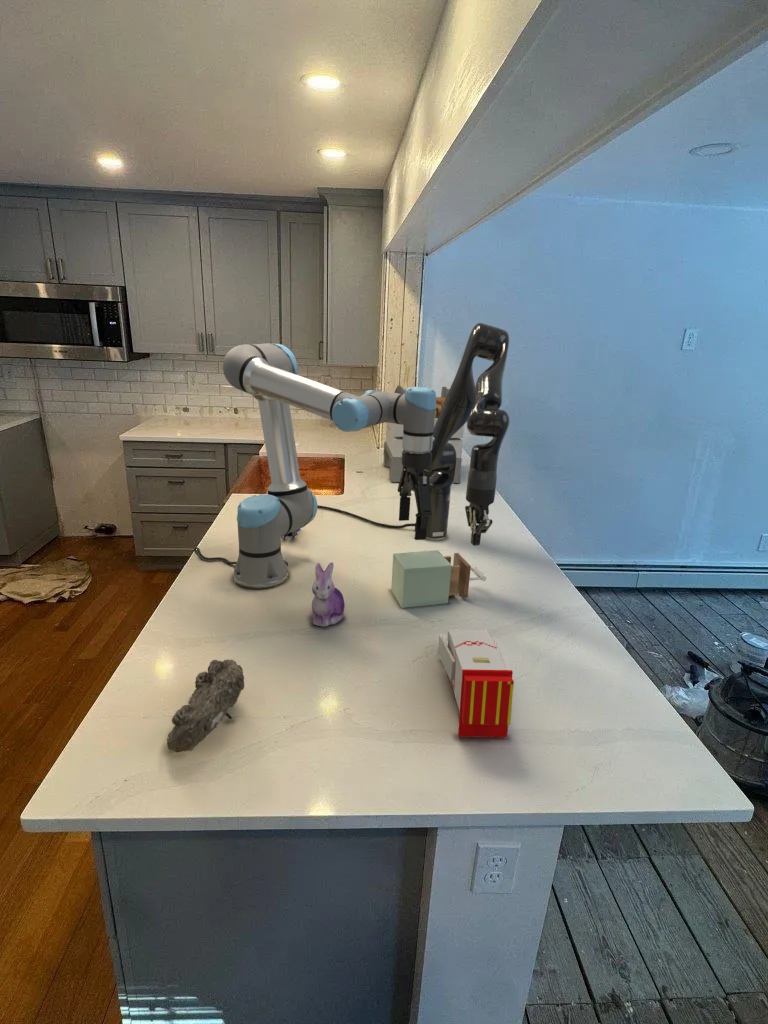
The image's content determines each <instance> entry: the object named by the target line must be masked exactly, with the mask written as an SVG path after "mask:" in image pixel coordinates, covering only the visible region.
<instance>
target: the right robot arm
mask: <svg viewBox="0 0 768 1024" xmlns="http://www.w3.org/2000/svg"><path fill="white" fill-rule="evenodd" d="M509 347H510V334H509V332H508V331H506V329H503V328H500V327H497V326H493V325H490V324H488V323H487V324H486V323H483V322H477V323H475V325H474V326H473V327H472V329H471V331H470V333H469V336H468V339H467V341H466V344H465V347H464V351H463V353H462V356H461V360H460V363H459V366H458V367H457V371H456V374H455V376H454V378H453V381H452V383H451V385H450V388H449V389H450V390H449V392H448V394H447V397H446V399H445V402H444V404H443V407H442V410H441V412H440V415H439V417H438V419H437V422H436V424H435V426H434V430H433V431H434V433H433V437H434V438H435V439H434V441H433V445H432V450H431V451H430V452H431V453H432V460H431V466H430V467H429V468H426V469H425V470H424V471H426V472H428V473H429V472H430V473H433V474H431V476H429V478H430V479H429V488H430V500H431V511H432V515H431V516H428V517H427V530H426V539H425V540H426V541H432V542H440V541H444V540H446V539H447V538H448V525H449V517H450V516H449V514H450V504H451V494H452V493H451V491H452V486H453V484H454V483H453V481H454V475H455V468H456V459H457V457H456V450H455V448H454V446H453V445H452V444H450V443H447V442H448V441H449V439H450V438H451V437H452V436H453V435H454V434H455V433H456V432H457V431H458V430H459V429H460V428H461V427H462V426H463V425H464V426H465V424H466V428H467V432H468V433H469V434H470V435H472V436H475V437H487V438H492V439H491V440H490V441H488V442H486V443H479V444H475V445H473V446H472V448H471V451H470V462H469V470H468V474H467V484H466V493H465V500H466V501H467V503H469V505H465V507H464V511H465V515H466V516H465V517H466V521H467V526H468V527H470V532H471V534H470V535H471V536H470V544H471V545H472V546H473V547H475V546H480V545H481V541H482V534H486V533H487V532H488V531H489V529H490V527H491V526H492V525H493V519H492V518H491V519H490V518H489V514H490V509H489V506H490V505H492V504H494V502H495V496H496V488H497V480H498V473H497V471H498V464H499V463H498V461H499V456H500V450H501V448H502V445H503V441H504V439H505V436H506V434H507V432H508V429H509V427H510V416H509V413H508V412H507V411H506V410H505V409H500V408H501V407H502V404H503V380H504V374H505V368H506V365H507V359H508V353H509ZM475 358H479V359H482V360H486V361H491V362H493V363H492V364H490V366H489V367H487V368H486V369H485V370H483V372H482V373H481V374H480V375H479V377H478V378H477V380H476V382H475V378H474V370H473V368H474V367H473V365H474V362H475V361H474V360H475ZM317 509H323V510H327V511H328V510H329V511H333V512H336V513H340V514H343V515H347V516H350V517H353V518H354V519H358V520H361V521H363V522H366V523H368V524H371V525H374V526H379V527H384V528H388V529H405V528H408V527H414V529H415V528H416V522H415V523H405V524H401V525H393V524H387V523H381V522H376V521H374V520H371V519H369V518H366V517H362V516H360V515H358V514H354V513H351V512H348V511H346V510H343V509H340V508H339V509H338V508H334V507H329V506H325V505H319V504H317Z"/></svg>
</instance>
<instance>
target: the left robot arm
mask: <svg viewBox="0 0 768 1024" xmlns="http://www.w3.org/2000/svg"><path fill="white" fill-rule="evenodd" d="M298 369H299V368H298V362H297V359H296V357H295V355H294V353H293V352H292V351H291V350H290V349H289V348H288V347H287V346H285V345H284V344H280V343H273V342H267V343H252V344H249V343H248V344H239V345H236V346H234V347H232V348H231V349H230V350H228V352H227V353H226V354H225V355H224V357H223V361H222V372H223V375H224V378H225V379H226V381H227V382H228V383H229V384H230V386H231V387H233V388H235V389H237V390H239V391H242V392H244V393H246V394H249V395H251V396H252V397H253V398H254V399H256V400H257V402H258V403H257V404H258V408H259V414H260V421H261V428H262V433H263V438H264V446H265V452H266V457H267V463H268V470H269V476H270V484H269V486H267V489H266V490H267V493H263V494H262V493H261V494H258V495H255V494H254V495H251V496H248V497H246V498H244V499H243V500H242V501H240V502H239V504H238V506H237V515H236V522H237V523H236V524H237V537H238V538H237V539H238V556H237V560H236V561H230V560H228V559H227V558H225V557H219V556H216V557H206V556H205V555H203V554H202V553H201V550H200V548H199V547H195V548H194V549H193V551H194V552H197V554H198V555H199V557H200V558H201V559H202V560H205V561H224V562H225V563H226V564H228V565H235V566H234V569H233V581H234V582H235V583H236V584H237V585H238V586H241V587H244V588H247V589H255V590H256V589H257V590H258V589H259V590H261V589H268V588H273V587H276V586H280V585H281V584H282V583H284V582H286V580H287V579H288V577H289V571H288V566H289V562H287V561H286V560H285V559H284V556H283V553H282V541H281V538H283V537H284V535H286V534H288V533H290V532H292V531H295V530H297V529H302V528H305V527H306V526H307V525H308V524H310V523H311V522H312V521H314V520H315V517H316V516H317V513H318V508H317V505H318V501H317V497H316V495H315V494H314V493H313V491H312V489H309V488H308V487H307V486H308V485H307V482H306V481H304V480H303V479H302V478H301V473H300V465H299V460H298V451H297V446H296V439H295V433H294V427H293V419H292V413H291V406H292V407H294V408H297V409H300V410H302V411H305V412H307V413H310V414H313V415H316V416H318V417H321V418H324V419H326V420H329V421H332V422H333V424H334V425H335V426H336V427H337V429H338V430H340V431H342V432H345V433H350V432H359V431H361V430H363V429H366V428H369V427H373V426H376V425H377V426H378V425H381V424H384V423H386V422H387V423H395V424H400V425H403V441H402V448H403V449H404V450H403V451H402V462H401V463H402V465H403V470H402V474H401V478H400V482H398V485H397V493H399V495H398V496H399V509H398V510H399V511H398V512H399V513H398V522H404V521H405V522H406V521H409V520H410V514H411V513H410V511H411V497H412V492H414V498H415V504H416V511H417V513H416V514H415V523H416V528H415V527H414V540H415V541H423V540H427V539H426V530H427V517H428V516H431V515H432V511H431V500H430V488H429V479H430V478H429V477H430V476H429V475H426V473H425V471H426V470H425V469H426V468H429V467H430V466H431V460H432V453H431V452H430V451H431V450H432V445H433V441H434V439H435V438H434V437H433V433H434V431H433V430H434V420H435V410H436V397H437V392H436V391H435V389H433V388H431V387H425V386H409V387H407V388H406V389H405V390H406V393H405V394H398V393H394V392H391V391H384V390H380V389H376V390H375V389H369V390H365V391H364V393H363V394H362V395H356V394H352V393H350V392H347V391H344V390H341V389H339V388H336V387H333V386H330V385H327V384H324V383H322V382H319V381H316V380H314V379H311V378H308V377H305V376H302V375H299V374H298V372H299V371H298ZM387 423H386V424H387ZM196 549H197V550H196Z"/></svg>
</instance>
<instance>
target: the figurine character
mask: <svg viewBox="0 0 768 1024" xmlns="http://www.w3.org/2000/svg"><path fill="white" fill-rule="evenodd" d="M301 529H302V528H300V529H297V530H295V531H292V532H290V533H288V534H286V535H284V536H282V540H283V541H286V539H287V538H291V541H294V539H295V537H297V536H298V533H299V532H300V531H301Z"/></svg>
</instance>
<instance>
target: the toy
mask: <svg viewBox="0 0 768 1024" xmlns="http://www.w3.org/2000/svg"><path fill="white" fill-rule="evenodd" d="M446 640H447V643H446V641H445V639H444V636H443V635H442V634H439V637H438V646H437V656H438V657H439V659H440V661H441V663H442V666H443V668H444V670H445V672H446V674H447V677H448V679H449V681H450V684H451V687H452V690H453V693H454V697H455V701H456V705H457V708H458V711H459V714H458V715H459V716H458V730H457V731H458V732H457V737H458V738H508V731H509V726H510V725H511V717H512V707H513V697H514V696H513V695H514V684H515V680H514V679H513V673H514V671H513V670H512V669H508V667H507V665H506V662H505V661H504V659H503V658H502V655H501V653H500V651H499V649H498V647H497V643H496V639H495V637H494V635H493V634H491V632H490V631H489V629H467V628H466V629H465V628H463V629H461V628H460V629H459V628H448V630H447V639H446Z"/></svg>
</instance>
